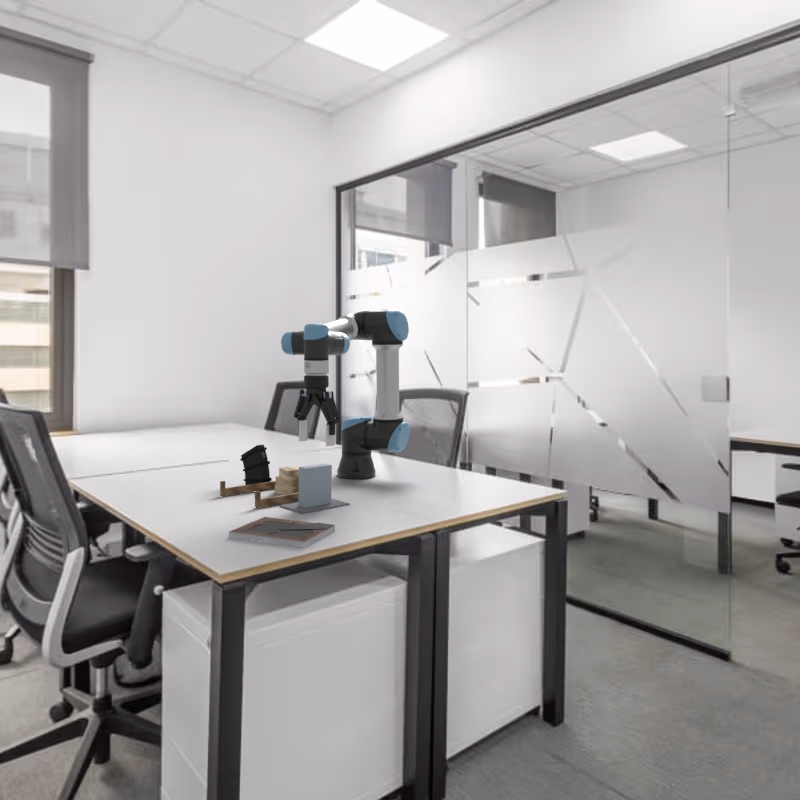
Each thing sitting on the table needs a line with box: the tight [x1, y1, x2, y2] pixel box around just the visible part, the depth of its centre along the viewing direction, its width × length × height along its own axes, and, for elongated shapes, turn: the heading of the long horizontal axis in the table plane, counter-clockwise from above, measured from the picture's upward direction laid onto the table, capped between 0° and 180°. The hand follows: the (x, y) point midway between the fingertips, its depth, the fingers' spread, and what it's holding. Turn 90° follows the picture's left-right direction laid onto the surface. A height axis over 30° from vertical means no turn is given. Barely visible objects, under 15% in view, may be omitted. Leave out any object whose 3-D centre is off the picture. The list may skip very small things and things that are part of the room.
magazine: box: [240, 444, 273, 485], centre depth 219 cm, size 4×13×15 cm, turn 49°
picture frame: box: [228, 516, 336, 549], centre depth 160 cm, size 16×2×22 cm
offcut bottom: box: [274, 485, 299, 495], centre depth 209 cm, size 6×10×3 cm, turn 43°
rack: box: [219, 480, 299, 509], centre depth 204 cm, size 26×22×7 cm
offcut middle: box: [275, 475, 299, 489], centre depth 208 cm, size 6×9×3 cm, turn 43°
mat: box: [279, 497, 351, 515], centre depth 192 cm, size 18×12×1 cm, turn 135°
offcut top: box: [278, 465, 299, 480], centre depth 208 cm, size 5×7×3 cm
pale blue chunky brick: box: [298, 463, 333, 508], centre depth 192 cm, size 10×4×12 cm, turn 135°
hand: (316, 443), depth 191 cm, fingers open, 13 cm apart
